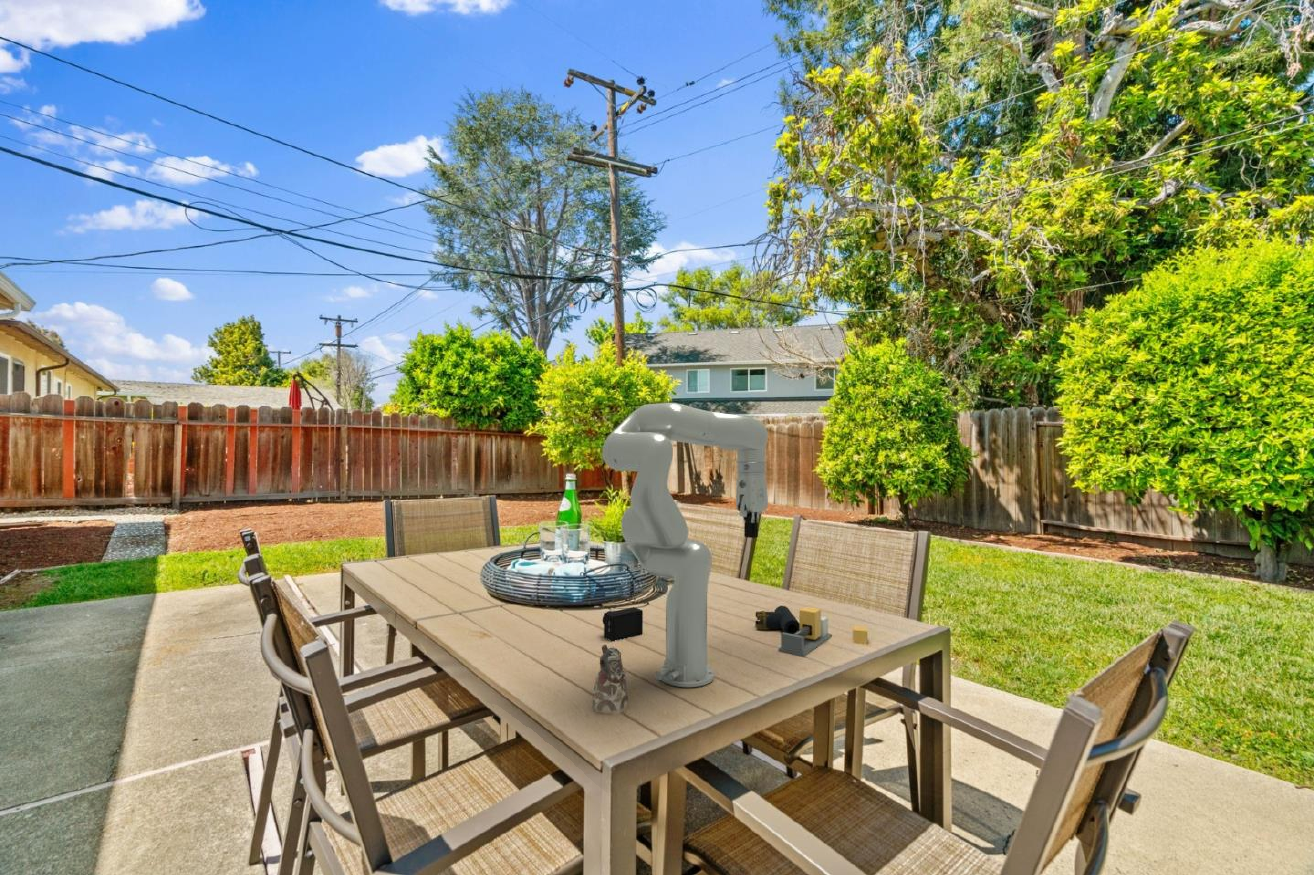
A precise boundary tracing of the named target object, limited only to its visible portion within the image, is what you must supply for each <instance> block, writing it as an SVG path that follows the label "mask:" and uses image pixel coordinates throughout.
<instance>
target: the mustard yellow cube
mask: <svg viewBox="0 0 1314 875" xmlns="http://www.w3.org/2000/svg"><path fill="white" fill-rule="evenodd" d="M853 642H854V643H853ZM852 643H853V644H859V643H867V644H868V628H867V626H865V625H852Z"/></svg>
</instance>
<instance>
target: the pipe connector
mask: <svg viewBox="0 0 1314 875" xmlns="http://www.w3.org/2000/svg"><path fill="white" fill-rule="evenodd" d="M755 617H756V620H755V625H754V626H755V627H756V629H757V630H762V631H766V630H767V631H768V630H771V631H773V630H774V631H782V633H783V632H784V633H789V634H794V633H796V632H797V631H799V630H800V624H799V621H798V620H797V618H796V617H795V615H794V613H792V611H791V610H790V609H789V608H788V606H786V605H779V606H777V607H775V610H774V611H765V610H761V611H755Z"/></svg>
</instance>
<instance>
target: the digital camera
mask: <svg viewBox="0 0 1314 875" xmlns="http://www.w3.org/2000/svg"><path fill="white" fill-rule="evenodd" d="M643 611H644V610H643V609H641V608H637V607H635V606H633V607H628V608H623V609H618V610H608V611H606V612H604V613H603V614H604V615H603V616H602V624H603V625H604V626H603V638H604V637H605V638H604V639H606V638H607V639H606V640H608V639H609V640H608V641H610V640H611V641H610V642H612V641H613V642H616V641H615V640H617V641H620V639H621V640H625V639H624V638H626V639H628V637H630V638H633V637H634V638H635V637H639V636H642V634H643V633H644V632H643V631H644V630H643V628H644V627H643V626H644V624H643V622H644V620H643V619H644V618H643V615H644V612H643Z"/></svg>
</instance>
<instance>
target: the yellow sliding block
mask: <svg viewBox="0 0 1314 875" xmlns="http://www.w3.org/2000/svg"><path fill="white" fill-rule="evenodd" d="M798 613H799V621H798V622H799V624H800V629H802V628H804V627H805V626H807V625H811V626H812V632H811V633H809V634H807V635H806V636H804V637H805V638H809V639H814V640H815V639H817V638H818V637H820V636H821V616H822V609H820V608H816V607H810V606H804V607H803V608H801V609H799V612H798Z"/></svg>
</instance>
